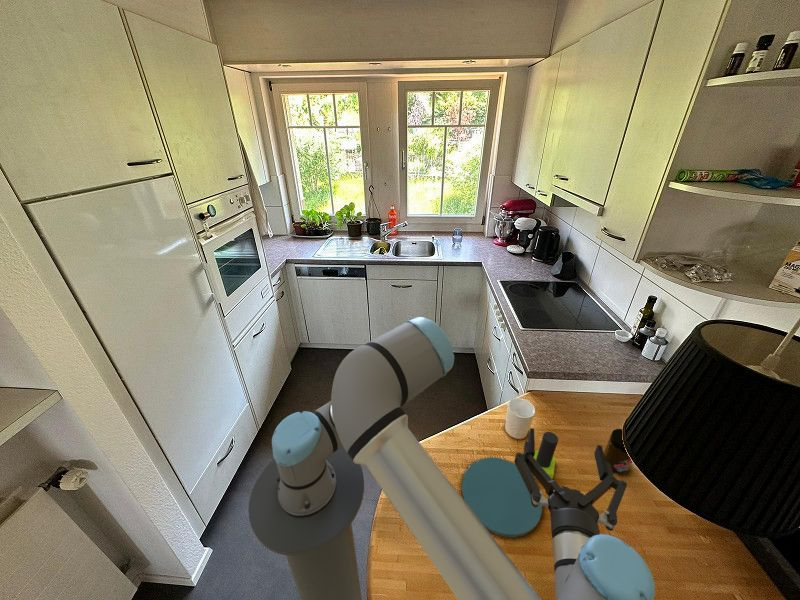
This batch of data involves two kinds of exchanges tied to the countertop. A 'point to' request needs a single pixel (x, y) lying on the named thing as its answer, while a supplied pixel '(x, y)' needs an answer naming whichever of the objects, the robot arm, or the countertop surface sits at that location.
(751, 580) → the countertop surface
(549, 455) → the sponge wand
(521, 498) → the plate
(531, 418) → the white cup
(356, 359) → the robot arm
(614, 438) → the supplement container
